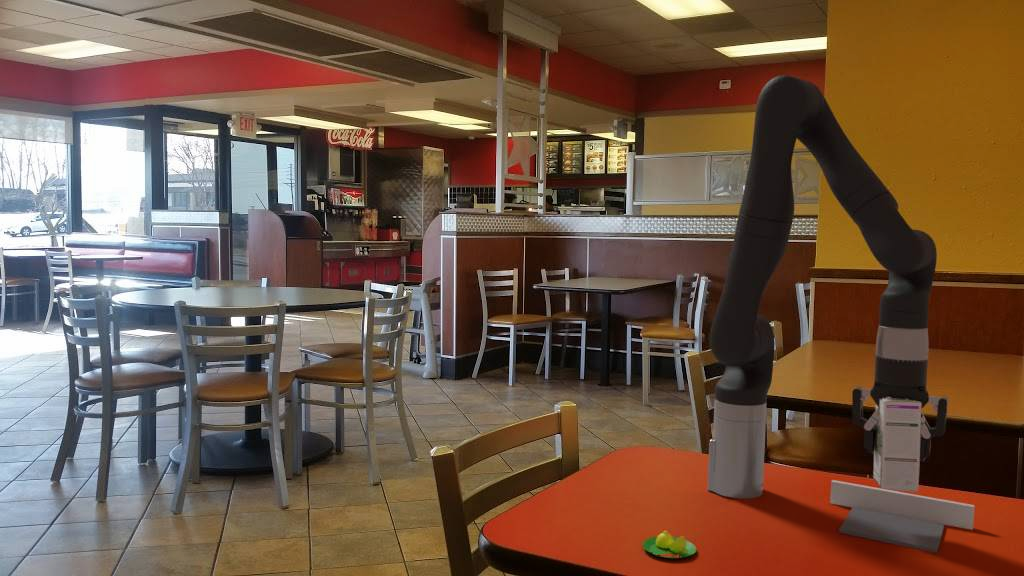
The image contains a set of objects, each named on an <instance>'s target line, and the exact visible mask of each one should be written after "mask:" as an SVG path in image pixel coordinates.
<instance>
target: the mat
mask: <svg viewBox="0 0 1024 576" xmlns="http://www.w3.org/2000/svg"><path fill="white" fill-rule="evenodd" d="M838 529H839V531H838V533H839V534H845V535H849V536H853V537H854V536H855V537H858V538H863V539H868V540H873V541H877V542H883V543H888V544H891V545H897V546H902V547H906V548H910V549H911V548H912V549H916V550H922V551H925V552H931V553H936V554H937V553H938V551H939V548H940V544H941V540H942V537H943V533H944V529H945V525H944V524H938V523H933V522H927V521H922V520H917V519H911V518H906V517H901V516H896V515H891V514H886V513H880V512H875V511H870V510H865V509H860V508H854V507H853V508H852V507H851V509H850V511H849V513H848V514H847V516H846V517H845V519H844V521H843V522H842V524H841V525H840V527H839V528H838Z"/></svg>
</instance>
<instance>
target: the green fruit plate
mask: <svg viewBox="0 0 1024 576" xmlns="http://www.w3.org/2000/svg"><path fill="white" fill-rule="evenodd" d="M642 547H643V549H644V550H645V551H647V552H649V553H651V552H652V553H651V554H653V555H655V556H656V557H660V558H662V559H671V560H673V559H683V558H687V557H691V556H692V555H694V554H695V553H696V552H697V547H696V546H695V544H693V543H692V542H691V541H688V540H686V538H685V536H684V535H680V536H679V537H677V536H676V537H675V536H673V535H671V534H670V533H669V532H668V531H667V530H663V532H661V533H660V534H658V535H657V536H653V537H648V538H646V539H645V540H644V541H643V542H642ZM653 551H654V552H653ZM657 551H658V552H657ZM668 551H669V552H668ZM667 552H668V553H670V552H671V553H670V554H673V555H675V554H676V555H678V554H679V557H680V556H681V557H680V558H670V557H669V556H668V557H663V556H658V555H660V554H662V553H663V554H665V553H667ZM668 553H667V554H668ZM657 554H658V555H657ZM663 554H662V555H663ZM665 555H666V554H665ZM673 555H672V556H673ZM676 555H675V556H676ZM672 556H671V557H672ZM675 556H674V557H675ZM683 556H684V557H683Z"/></svg>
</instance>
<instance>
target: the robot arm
mask: <svg viewBox="0 0 1024 576" xmlns="http://www.w3.org/2000/svg"><path fill="white" fill-rule="evenodd" d="M755 107H756V108H755V116H754V125H753V136H752V147H751V151H750V152H751V155H750V160H749V166H748V169H747V174H746V179H745V183H744V189H743V195H742V198H741V199H742V200H741V202H740V207H739V211H738V216H737V220H736V225H735V230H734V237H733V242H732V243H733V244H732V248H731V252H730V257H729V262H728V265H727V270H726V276H725V282H724V284H723V290H722V293H721V295H720V299H719V302H718V305H717V308H716V311H715V315H714V317H713V321H712V324H711V327H710V330H709V346H710V347H709V348H710V351H711V353H712V355H713V357H714V358H715V359H716V360H717V361H718V363H720V364H722V365H724V366H725V370H724V372H723V375H722V377H720V378H719V379H718V381H717V382H716V384H715V386H714V406H713V407H714V408H713V431H712V432H713V433H712V434H713V435H712V436H713V437H712V438H711V439H709V443H708V466H707V467H708V468H707V491H711V492H714V493H716V494H717V495H720V496H723V497H726V498H727V497H728V498H732V499H754V498H758V497H759V498H760V497H761V496H762V495H763V490H764V487H763V486H764V469H765V468H764V467H765V466H764V464H765V443H766V442H765V441H766V422H767V421H766V420H767V401H768V400H767V398H768V392H769V389H771V384H772V380H773V373H774V371H773V370H774V361H775V345H776V343H775V334H774V333H775V332H774V331H773V326H772V325H771V323H770V322H769V320H768V319H767V318H765V316H763V315H761V314H759V311H760V306H761V301H762V298H763V294H764V291H765V289H766V287H767V285H768V284H769V282H770V280H771V278H772V276H773V275H774V273H775V271H776V269H777V268H778V267H779V265H780V262H781V261H782V258H783V257H784V254H785V252H786V250H787V247H788V244H789V240H790V235H791V230H792V226H793V222H794V216H795V215H794V214H795V195H794V188H793V177H792V176H793V175H792V161H793V155H794V151H795V146H796V142H797V140H798V141H799V142H800V143H801V144H802V145H803V146H804V147H806V149H807V150H808V151H809V152H810V153H811V154H812V156H813V158H815V160H816V162H817V163H818V165H819V167H820V169H821V171H822V174H823V176H824V177H825V179H826V180H825V181H826V182H827V184H828V187H829V189H830V190H831V192H832V195H834V197H835V198H836V200H837V202H838V203H839V204H840V205H841V207H842V208H843V209H844V210H845V212H846V213H847V215H848V216H849V217H850V219H852V221H853V222H854V223H855V224H856V226H857V227H858V229H859V231H860V233H861V235H862V237H863V238H864V242H865V243H866V245H867V246H868V249H869V250H870V252H871V254H872V256H873V257H874V259H876V260H877V262H878V263H879V264H880V265H881V267H882V268H884V269H885V270H886V271H888V272H889V275H888V282H887V287H886V289H885V290H884V291H883V293H881V295H880V301H879V315H878V316H879V317H878V329H877V334H876V340H875V359H874V361H875V363H874V378H873V380H874V383H873V386H872V387H871V388H862V387H861V386H856V387H855V388H854V389H852V394H851V395H852V396H851V397H852V404H851V405H852V412H851V413H852V423H853V425H855V426H858V427H860V428H862V429H863V430H864V432H863V435H864V436H863V448H864V449H865V450H867V453H868V454H874V446H875V424H876V423H877V422H878V420H879V419H880V414H879V413H880V406H879V399H881V398H885V399H893V398H902V399H904V400H915V401H919V402H921V403H922V408H921V410H922V409H923V408H924V407H925V406H926V405H927V404H928V403H929V404H930V405H931V406H932V407H931V408H932V410H933V411H935V412H936V419H935V420H936V421H935V426H933V427H930V425H929V423H928V421H927V420H926V417H925V415H924V413H923V412H922V411H921V437H920V462H925V461H926V459H929V457H930V455H931V448H932V445H931V444H932V439H933V438H937V437H943V436H944V434H945V431H946V425H947V416H948V408H949V407H948V406H949V398H948V397H947V396H944V395H943V396H941V397H940V396H935V395H930V394H929V392H928V390H927V383H928V382H927V381H928V364H929V363H928V361H929V355H930V349H929V346H930V345H929V342H930V341H929V333H928V331H929V330H928V328H929V327H928V326H929V308H930V307H929V305H930V304H929V301H930V300H929V298H930V294H931V291H932V288H933V287H932V286H933V282H934V277H935V273H936V268H937V267H936V266H937V256H938V253H937V247H936V243H935V241H934V239H933V237H931V236H930V235H929V234H928V233H927V232H925V231H922V230H921V229H912V228H911V226H909V224H908V222H907V221H906V219H905V218H904V217H903V216H902V215H901V213H900V212H899V204H898V202H897V200H896V198H895V197H894V195H893V194H892V193H891V191H890V190H889V189H888V188H887V186H886V185H885V184H884V183H883V182H882V179H880V178H879V177H878V175H877V174H876V172H874V170H873V169H872V167H870V166H869V164H868V163H867V161H865V160H864V158H863V157H862V156H861V154H860V153H859V151H857V149H856V148H855V147H854V145H853V143H852V142H851V141H850V139H849V138H848V136H847V135H846V133H845V132H844V130H843V128H842V127H841V125H840V124H839V122H838V120H837V118H836V117H835V115H834V112H833V111H832V109H831V107H830V105H829V102H827V100H826V98H825V96H824V94H823V93H822V91H821V89H820V88H819V87H818V85H816V84H815V83H813V82H812V81H809V80H806V79H803V78H800V77H797V76H794V75H788V74H783V75H781V74H780V75H778V76H775V77H773V78H771V79H770V80H769V81H767V83H766V84H765V85H764V86H763V87H762V89H761V91H760V93H759V96H758V99H757V102H756V106H755ZM868 397H871V398H872V400H873V401H874V403H875V405H876V404H877V406H878V408H877V409H876V408H875V411H874V412H873V413H872V415H871V416H870V417H869V419H868V418H865V417H864V406H863V405H864V402H866V401H867V400H868Z"/></svg>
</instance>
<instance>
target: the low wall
mask: <svg viewBox="0 0 1024 576" xmlns="http://www.w3.org/2000/svg"><path fill="white" fill-rule="evenodd" d="M829 500H830V501H829V504H832V505H837V506H843V507H847V508H851V509H852V508H853V507H854V508H860V509H865V510H870V511H875V512H880V513H886V514H891V515H896V516H901V517H906V518H911V519H917V520H922V521H927V522H932V523H937V524H942V525H944V526H950V527H957V528H960V529H966V530H971V531H972V530H974V522H975V521H974V520H975V505H974V504H969V503H963V502H960V501H959V502H958V501H952V500H948V499H940V498H937V497H936V498H935V497H930V496H924V495H919V494H915V493H914V494H913V493H907V492H904V491H897V490H888V489H882V488H881V487H874V486H868V485H863V484H858V483H857V484H856V483H851V482H846V481H841V480H835V479H831V484H830V499H829Z"/></svg>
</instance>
